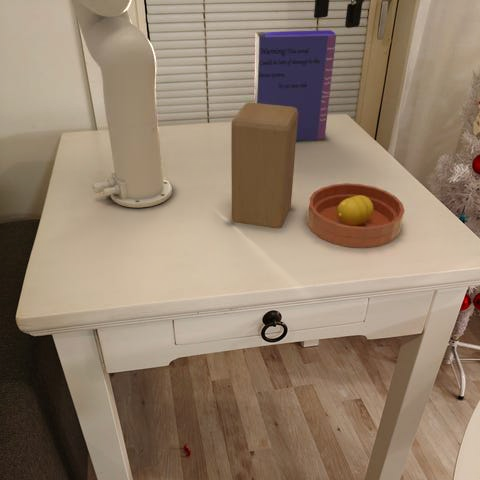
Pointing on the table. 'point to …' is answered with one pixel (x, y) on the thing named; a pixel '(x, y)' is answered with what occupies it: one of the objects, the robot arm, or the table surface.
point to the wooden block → (263, 163)
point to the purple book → (296, 76)
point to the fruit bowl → (362, 236)
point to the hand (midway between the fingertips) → (335, 22)
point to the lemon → (355, 210)
